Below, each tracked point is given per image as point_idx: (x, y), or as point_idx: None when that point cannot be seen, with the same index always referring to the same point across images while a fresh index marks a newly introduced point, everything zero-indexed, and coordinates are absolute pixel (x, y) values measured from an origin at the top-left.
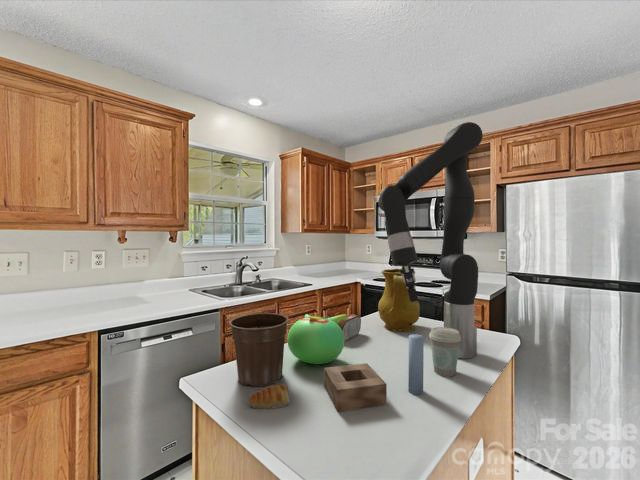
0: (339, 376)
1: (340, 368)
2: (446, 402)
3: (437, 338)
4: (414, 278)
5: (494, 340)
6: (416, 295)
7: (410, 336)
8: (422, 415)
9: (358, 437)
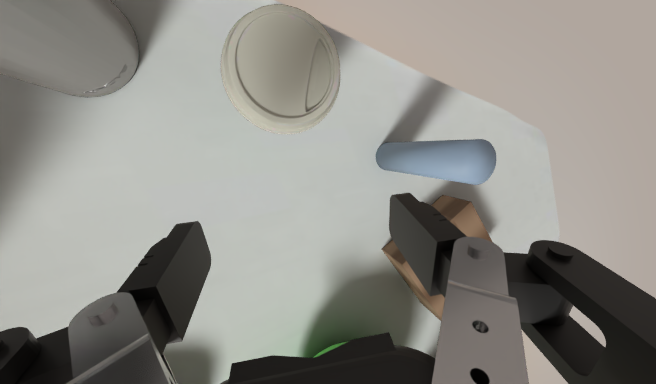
0: None
1: (439, 298)
2: (408, 99)
3: (334, 101)
4: (513, 307)
5: None
6: (423, 210)
7: (480, 178)
8: (453, 137)
9: (511, 207)
